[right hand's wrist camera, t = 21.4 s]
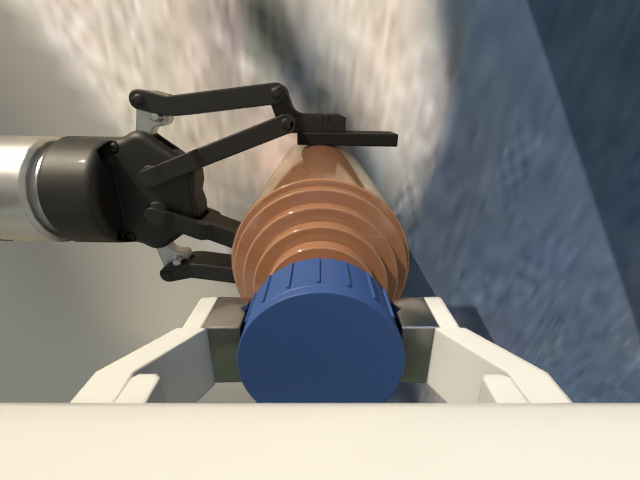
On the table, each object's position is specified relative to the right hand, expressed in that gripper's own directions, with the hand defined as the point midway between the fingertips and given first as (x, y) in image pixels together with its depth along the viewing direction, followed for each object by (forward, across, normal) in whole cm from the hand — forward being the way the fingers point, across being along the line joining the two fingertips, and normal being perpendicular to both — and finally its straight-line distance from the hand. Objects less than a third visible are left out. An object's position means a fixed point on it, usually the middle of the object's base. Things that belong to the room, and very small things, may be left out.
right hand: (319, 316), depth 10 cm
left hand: (+15, -5, 0) cm, 16 cm away
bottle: (+22, 0, 0) cm, 22 cm away
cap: (-2, 0, 0) cm, 2 cm away
